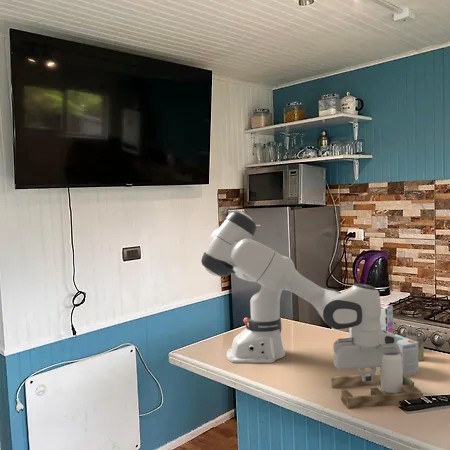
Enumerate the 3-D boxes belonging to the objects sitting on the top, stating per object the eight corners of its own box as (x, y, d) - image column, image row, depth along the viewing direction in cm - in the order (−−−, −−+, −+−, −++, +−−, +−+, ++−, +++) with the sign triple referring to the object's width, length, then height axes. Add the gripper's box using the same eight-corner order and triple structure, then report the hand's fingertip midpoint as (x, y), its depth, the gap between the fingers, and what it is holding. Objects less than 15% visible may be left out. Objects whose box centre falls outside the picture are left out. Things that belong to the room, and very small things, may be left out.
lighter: (426, 360, 167) (425, 332, 167) (418, 362, 165) (418, 334, 165) (410, 354, 173) (409, 328, 173) (402, 356, 172) (402, 329, 171)
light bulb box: (381, 366, 163) (381, 336, 162) (397, 363, 165) (396, 333, 164) (403, 377, 153) (402, 345, 152) (419, 373, 155) (419, 342, 154)
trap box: (347, 408, 132) (347, 395, 132) (330, 386, 148) (330, 373, 147) (422, 403, 133) (422, 389, 133) (397, 381, 149) (397, 369, 149)
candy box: (394, 346, 183) (393, 305, 182) (387, 350, 179) (386, 308, 178) (362, 339, 193) (361, 300, 192) (354, 343, 189) (354, 303, 188)
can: (401, 385, 146) (399, 348, 145) (405, 394, 139) (403, 355, 139) (379, 385, 147) (377, 348, 146) (382, 394, 140) (380, 355, 140)
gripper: (336, 342, 138) (337, 387, 139) (402, 337, 140) (403, 382, 141) (329, 335, 145) (331, 379, 145) (393, 331, 146) (394, 374, 147)
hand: (367, 380), depth 143 cm, fingers closed
